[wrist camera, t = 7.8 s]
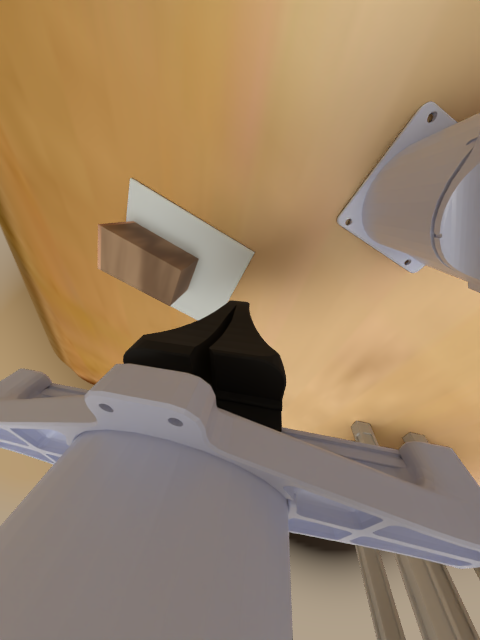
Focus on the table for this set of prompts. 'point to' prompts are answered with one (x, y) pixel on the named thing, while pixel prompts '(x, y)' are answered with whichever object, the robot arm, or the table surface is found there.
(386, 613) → the stool
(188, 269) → the walnut block
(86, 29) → the table surface
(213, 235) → the grey mat
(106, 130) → the table surface
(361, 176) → the table surface
